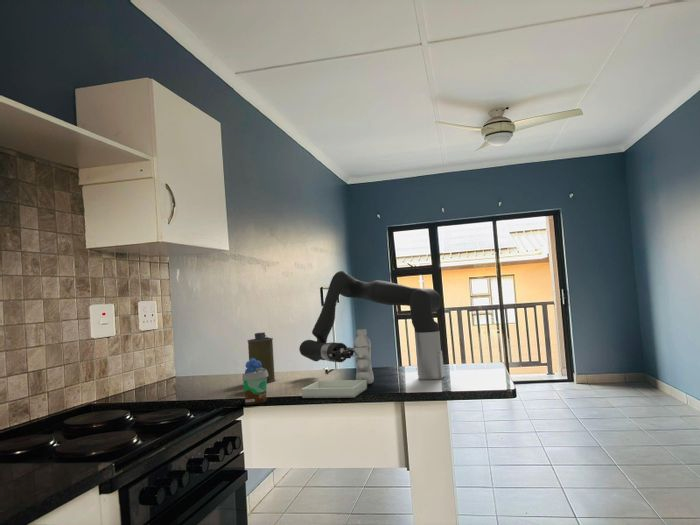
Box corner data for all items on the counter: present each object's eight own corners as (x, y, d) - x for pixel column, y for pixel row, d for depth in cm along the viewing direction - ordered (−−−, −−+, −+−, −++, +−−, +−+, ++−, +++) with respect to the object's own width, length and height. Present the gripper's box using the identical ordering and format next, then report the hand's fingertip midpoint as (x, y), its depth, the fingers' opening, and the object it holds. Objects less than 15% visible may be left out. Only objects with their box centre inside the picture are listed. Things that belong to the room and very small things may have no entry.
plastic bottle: (377, 383, 189) (373, 328, 190) (368, 386, 183) (364, 330, 184) (362, 382, 192) (358, 328, 194) (352, 386, 186) (349, 330, 188)
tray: (367, 388, 179) (366, 379, 179) (353, 397, 165) (353, 388, 165) (319, 389, 185) (318, 380, 185) (302, 397, 170) (301, 388, 171)
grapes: (237, 391, 192) (235, 359, 193) (252, 388, 197) (250, 356, 198) (256, 393, 184) (254, 360, 185) (271, 390, 189) (269, 357, 190)
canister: (267, 383, 205) (265, 333, 206) (244, 384, 208) (242, 334, 209) (280, 379, 215) (277, 331, 216) (258, 379, 218) (255, 332, 220)
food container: (261, 405, 163) (260, 373, 164) (243, 405, 164) (242, 374, 165) (275, 397, 175) (273, 367, 176) (258, 397, 176) (256, 368, 177)
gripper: (318, 344, 199) (343, 345, 186) (347, 340, 208) (373, 341, 195) (319, 364, 199) (344, 366, 186) (349, 359, 207) (374, 361, 194)
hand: (359, 353), depth 190 cm, fingers open, 8 cm apart
